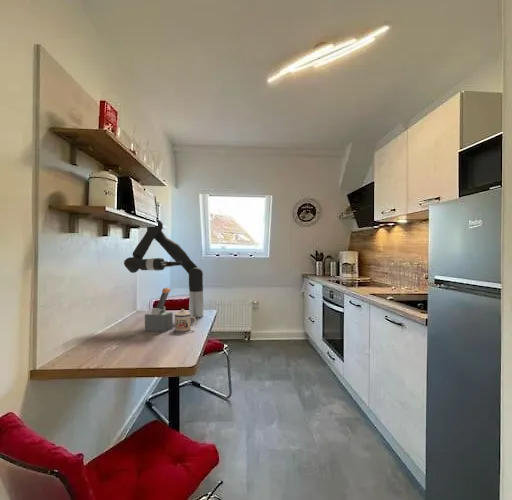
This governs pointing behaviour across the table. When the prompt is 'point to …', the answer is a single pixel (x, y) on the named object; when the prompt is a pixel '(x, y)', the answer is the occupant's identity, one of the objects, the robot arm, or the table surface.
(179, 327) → the teacup with lid
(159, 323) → the breaker box
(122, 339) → the table surface
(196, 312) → the robot arm
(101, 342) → the table surface
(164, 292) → the lever
